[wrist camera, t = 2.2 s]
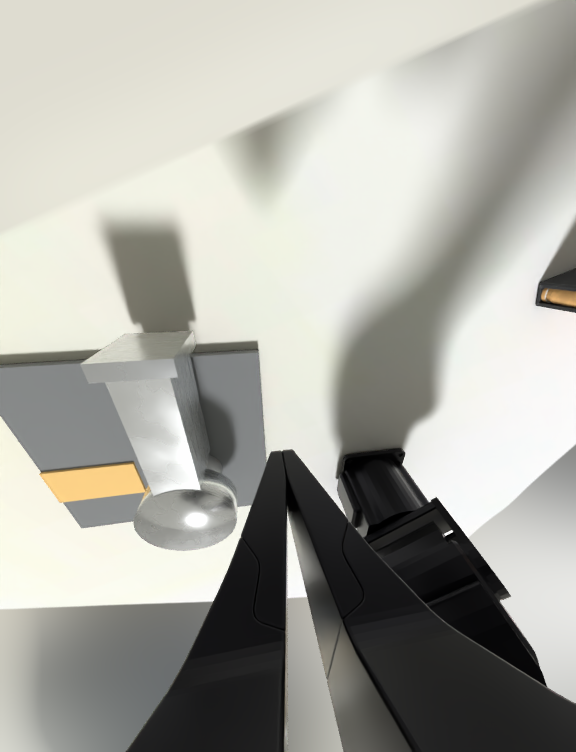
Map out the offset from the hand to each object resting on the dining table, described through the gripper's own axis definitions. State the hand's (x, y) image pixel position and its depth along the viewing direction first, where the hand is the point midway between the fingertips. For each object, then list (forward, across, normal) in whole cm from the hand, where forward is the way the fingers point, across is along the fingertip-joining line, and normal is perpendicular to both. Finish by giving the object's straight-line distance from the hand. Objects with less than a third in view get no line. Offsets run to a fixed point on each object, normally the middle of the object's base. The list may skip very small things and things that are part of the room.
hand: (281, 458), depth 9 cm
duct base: (+10, +10, +8) cm, 16 cm away
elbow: (+9, +7, +6) cm, 12 cm away
